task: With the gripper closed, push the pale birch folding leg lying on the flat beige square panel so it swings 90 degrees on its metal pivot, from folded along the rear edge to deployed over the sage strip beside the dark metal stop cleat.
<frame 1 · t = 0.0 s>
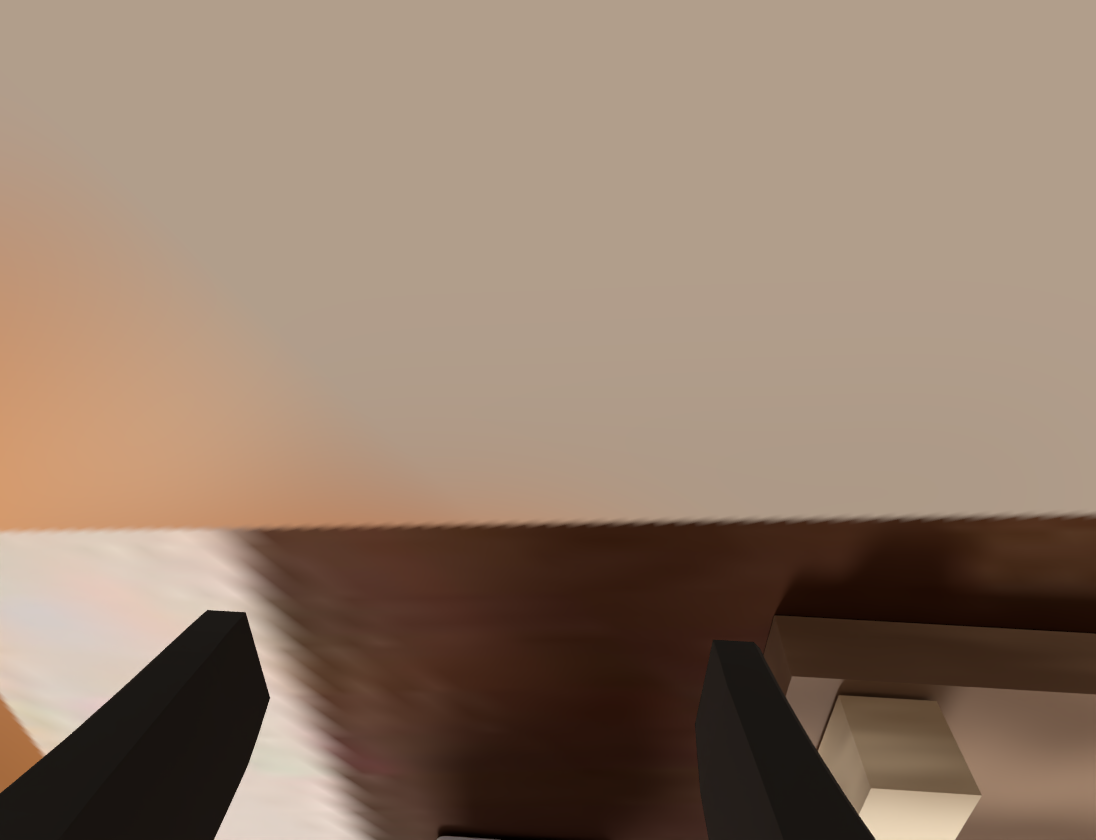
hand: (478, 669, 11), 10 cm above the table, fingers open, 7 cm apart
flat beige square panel: (947, 777, 28), on the table
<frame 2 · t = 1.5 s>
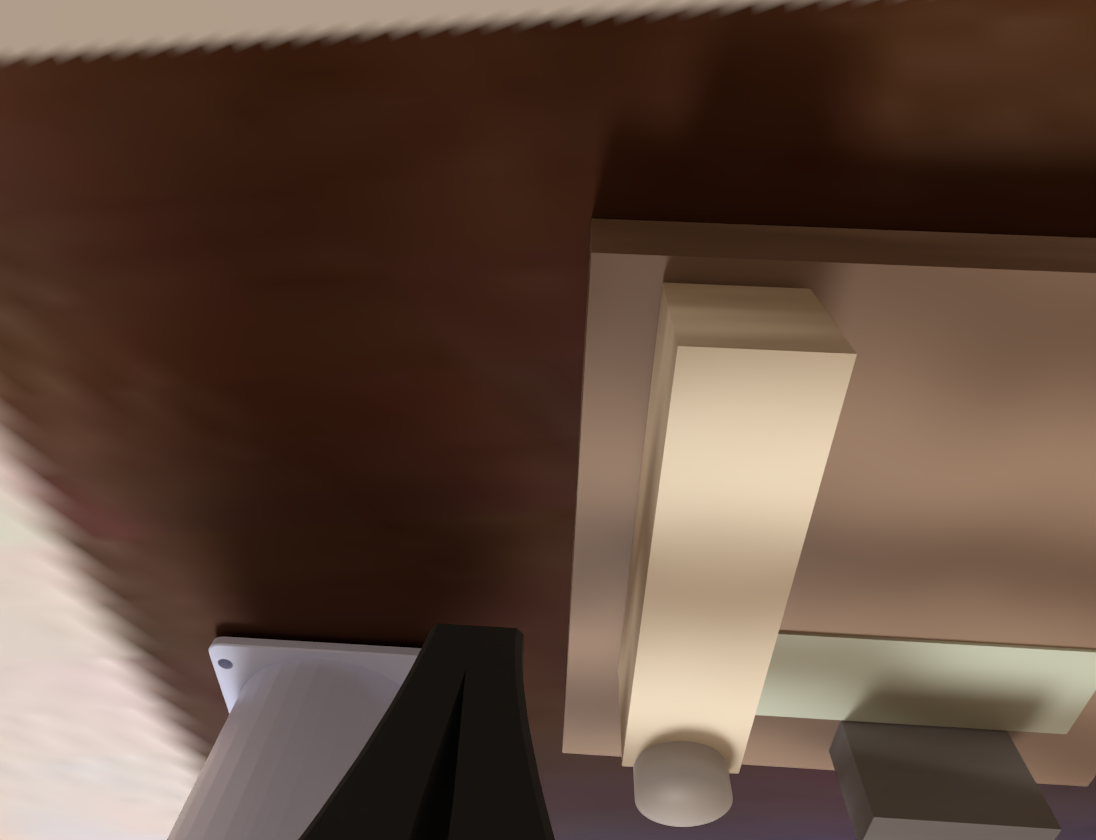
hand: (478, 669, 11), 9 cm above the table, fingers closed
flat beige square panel: (864, 518, 21), on the table
hinged leg: (703, 586, 16), point 5 cm above the table, hinge at 0.0°
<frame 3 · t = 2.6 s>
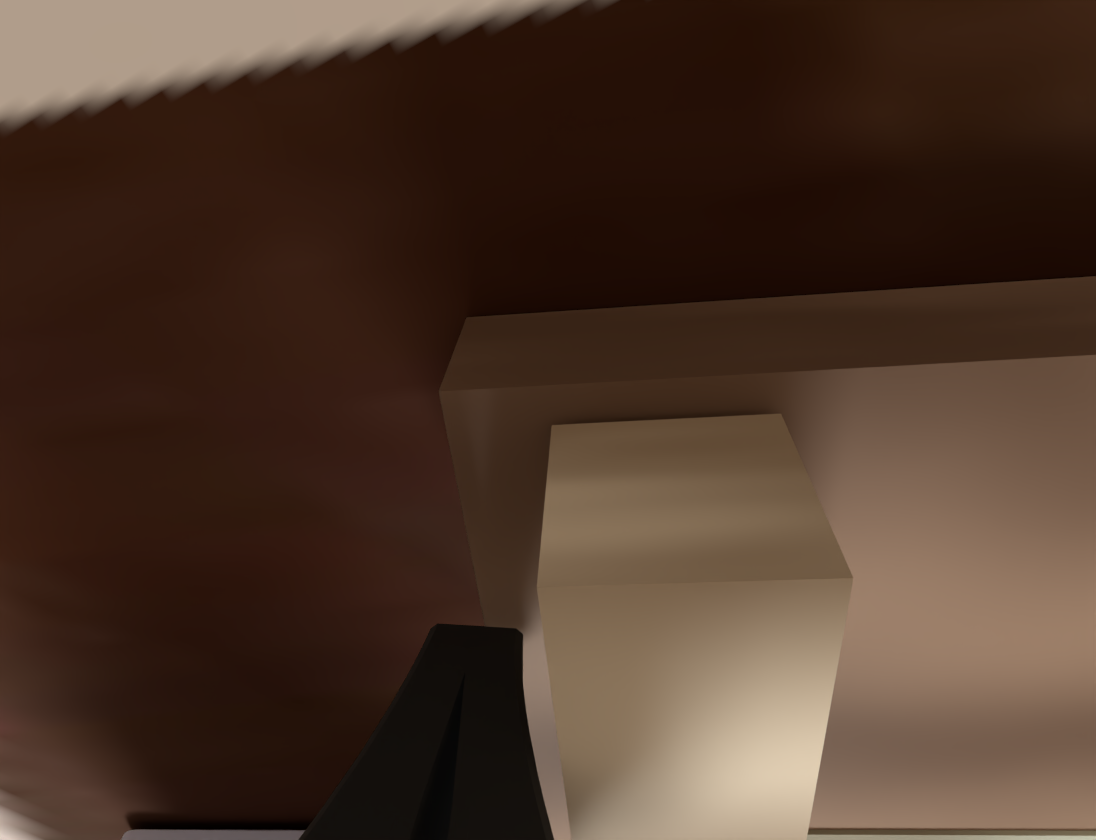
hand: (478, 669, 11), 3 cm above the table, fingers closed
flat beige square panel: (913, 656, 15), on the table
hinged leg: (677, 838, 11), point 5 cm above the table, hinge at 0.0°, touching gripper
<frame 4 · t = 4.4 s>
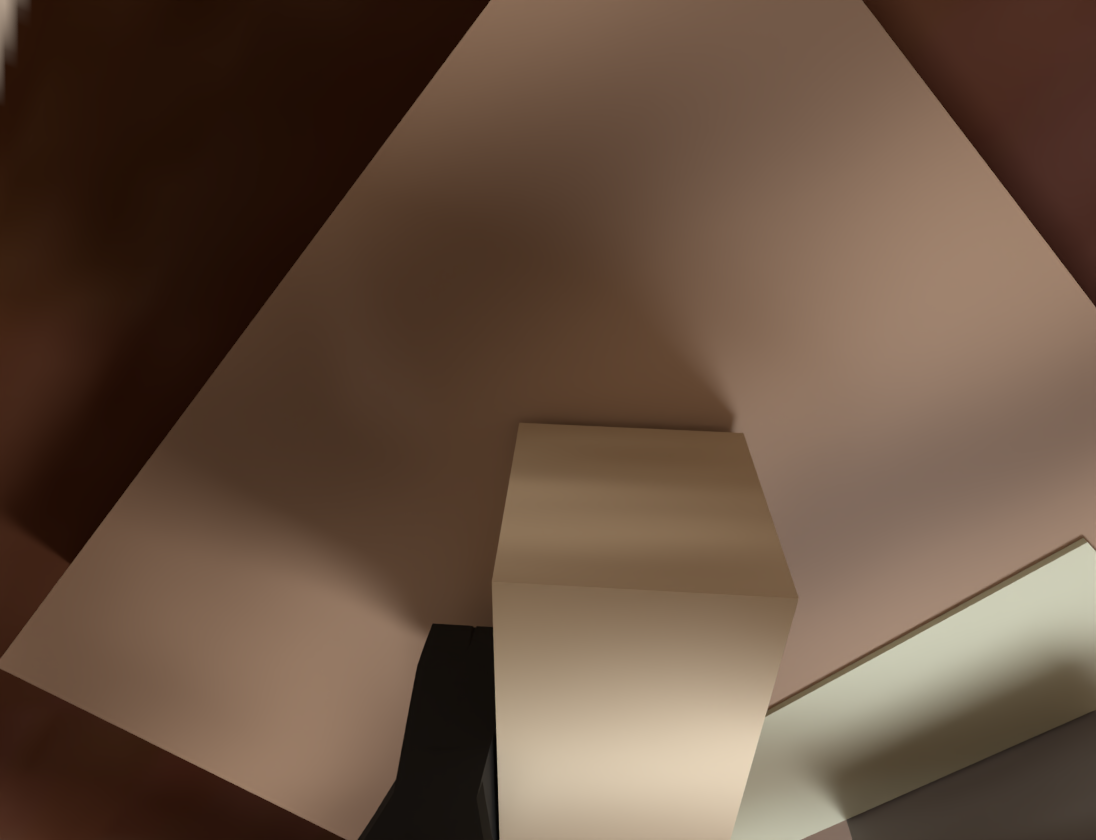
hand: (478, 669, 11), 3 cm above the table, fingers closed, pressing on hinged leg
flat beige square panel: (634, 575, 14), on the table
hinged leg: (602, 839, 11), point 5 cm above the table, hinge at -48.8°, touching gripper
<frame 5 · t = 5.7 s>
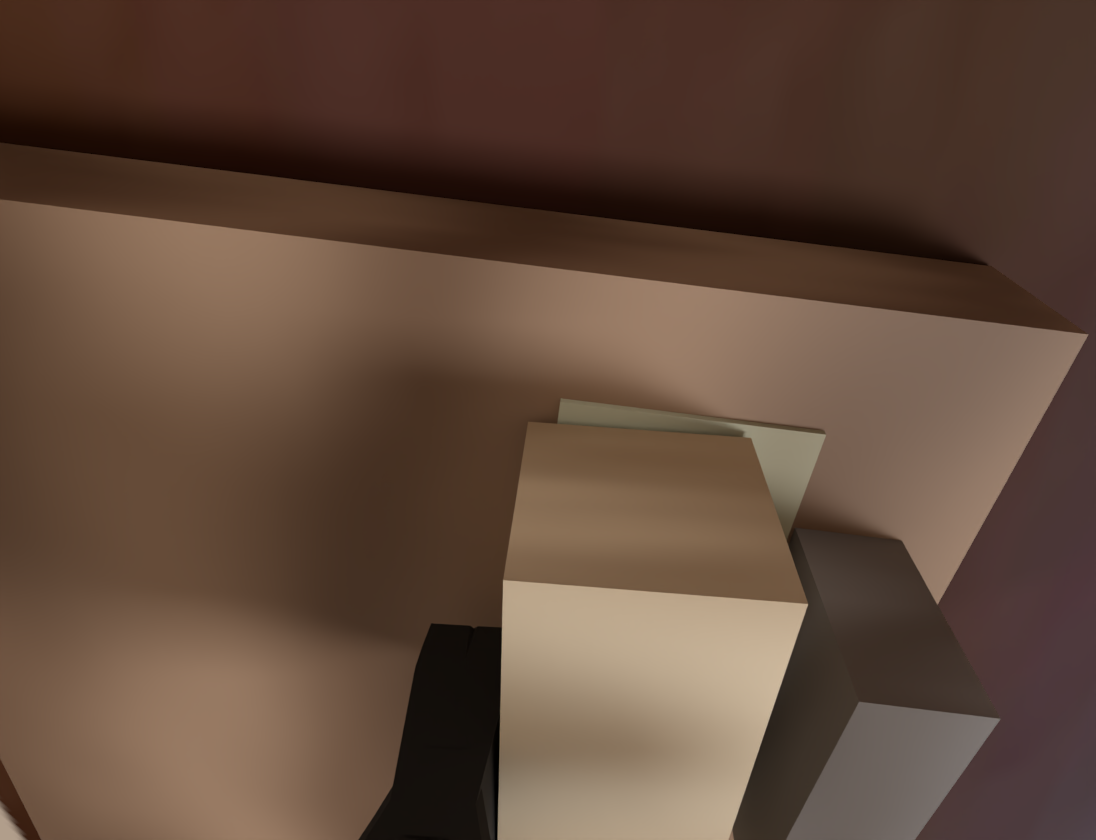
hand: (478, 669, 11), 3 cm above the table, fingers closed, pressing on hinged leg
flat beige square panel: (427, 596, 15), on the table
hinged leg: (597, 839, 11), point 5 cm above the table, hinge at -86.7°, touching gripper
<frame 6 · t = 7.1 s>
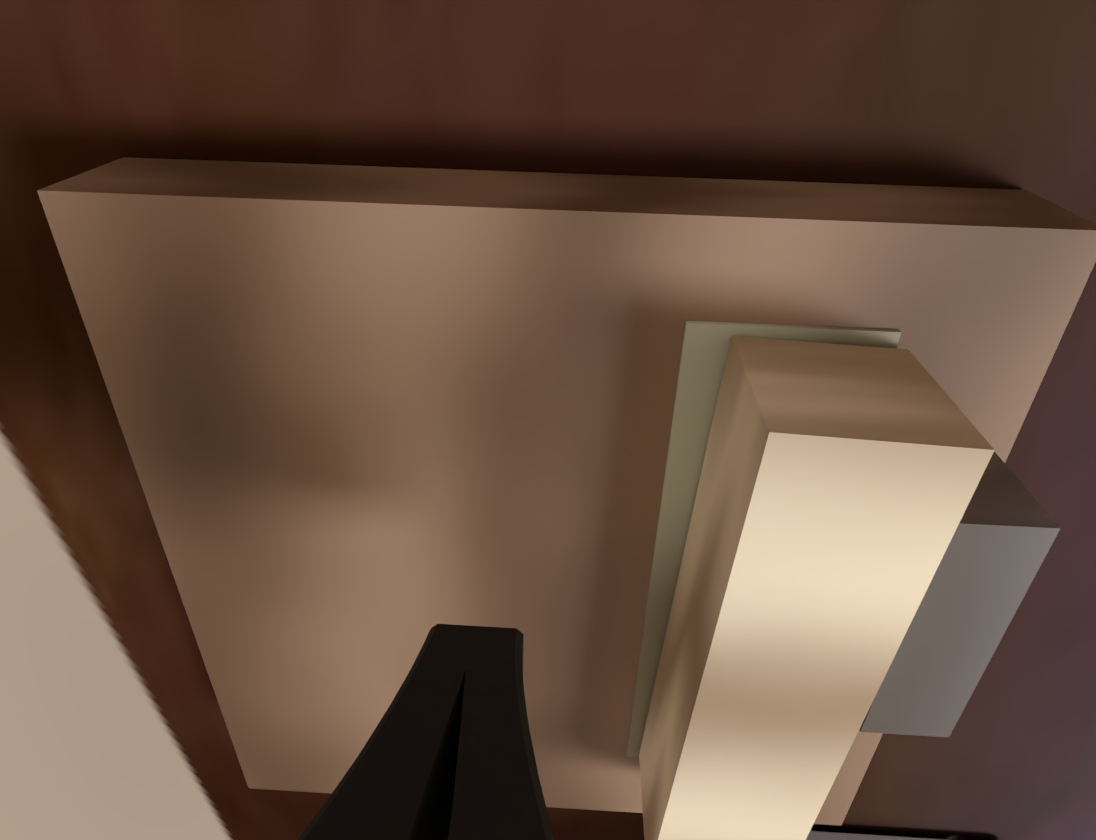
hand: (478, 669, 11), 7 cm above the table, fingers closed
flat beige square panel: (553, 521, 18), on the table
hinged leg: (756, 688, 14), point 5 cm above the table, hinge at -92.2°, touching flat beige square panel
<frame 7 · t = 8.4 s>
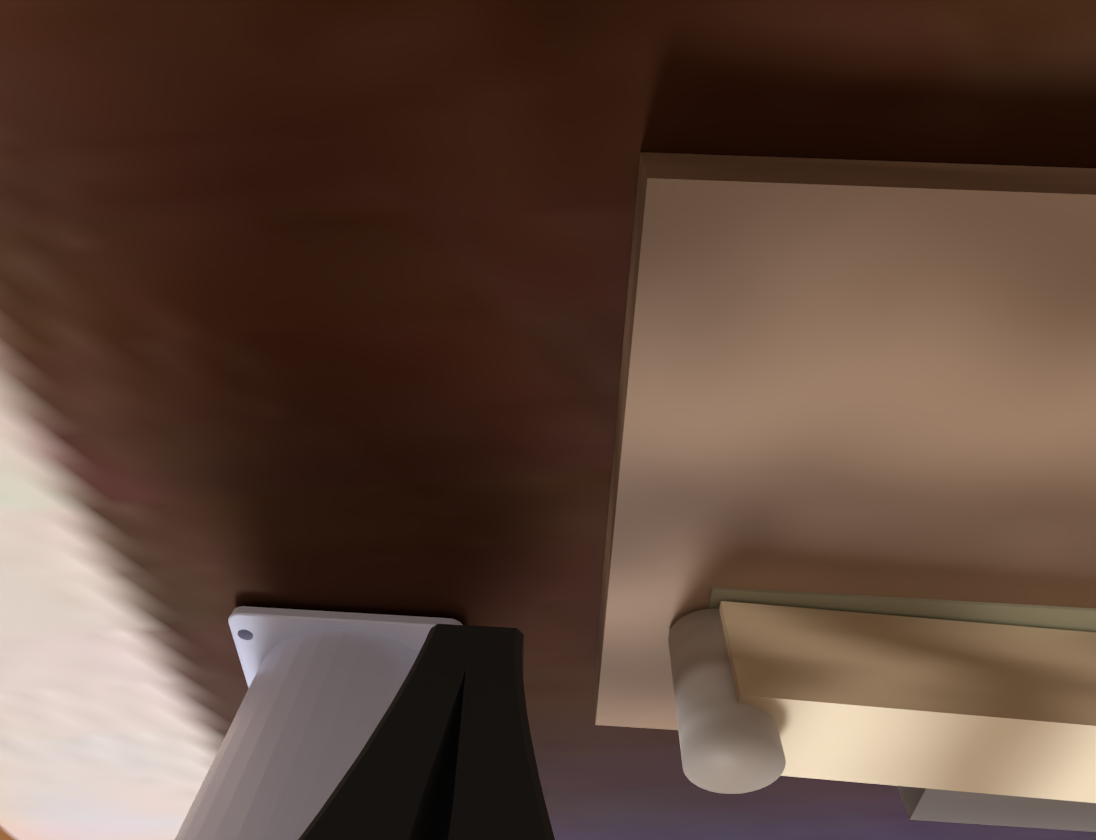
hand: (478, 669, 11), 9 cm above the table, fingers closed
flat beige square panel: (913, 477, 20), on the table
hinged leg: (929, 714, 18), point 5 cm above the table, hinge at -92.2°, touching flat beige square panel
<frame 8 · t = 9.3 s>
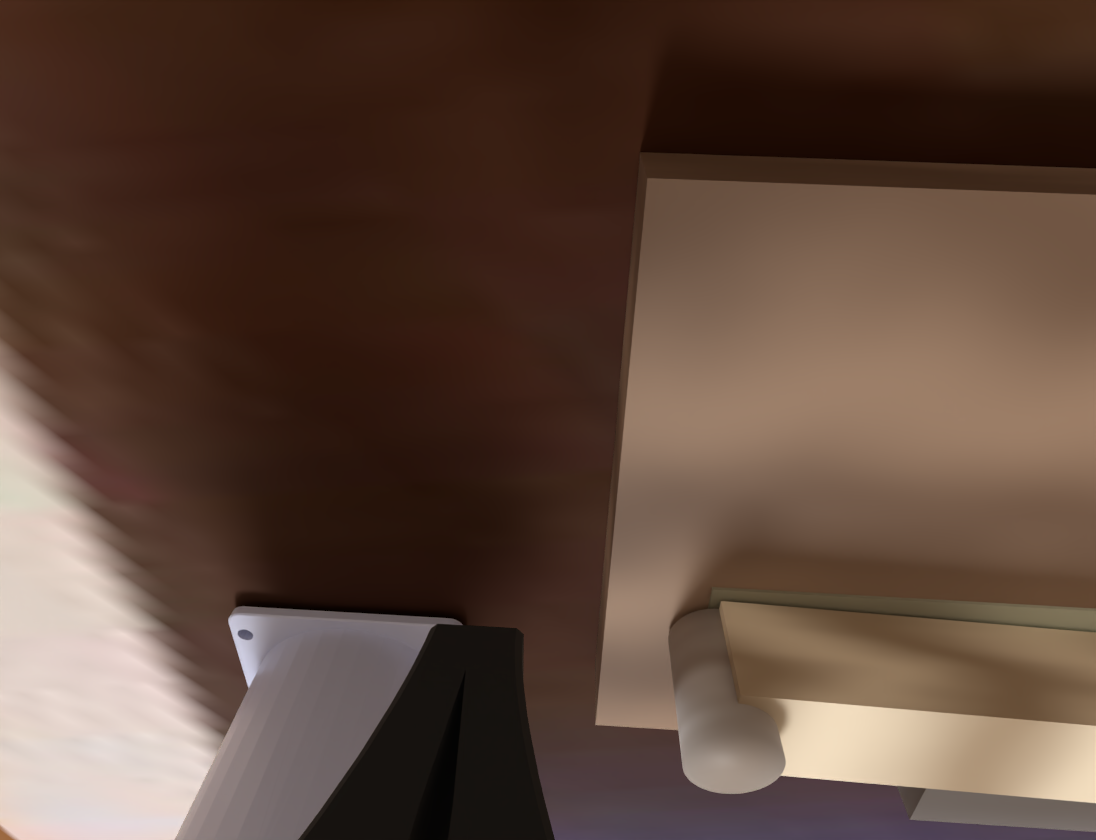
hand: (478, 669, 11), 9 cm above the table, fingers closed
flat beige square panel: (913, 477, 20), on the table
hinged leg: (929, 714, 18), point 5 cm above the table, hinge at -92.2°, touching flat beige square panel
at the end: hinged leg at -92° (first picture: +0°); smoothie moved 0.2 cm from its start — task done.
